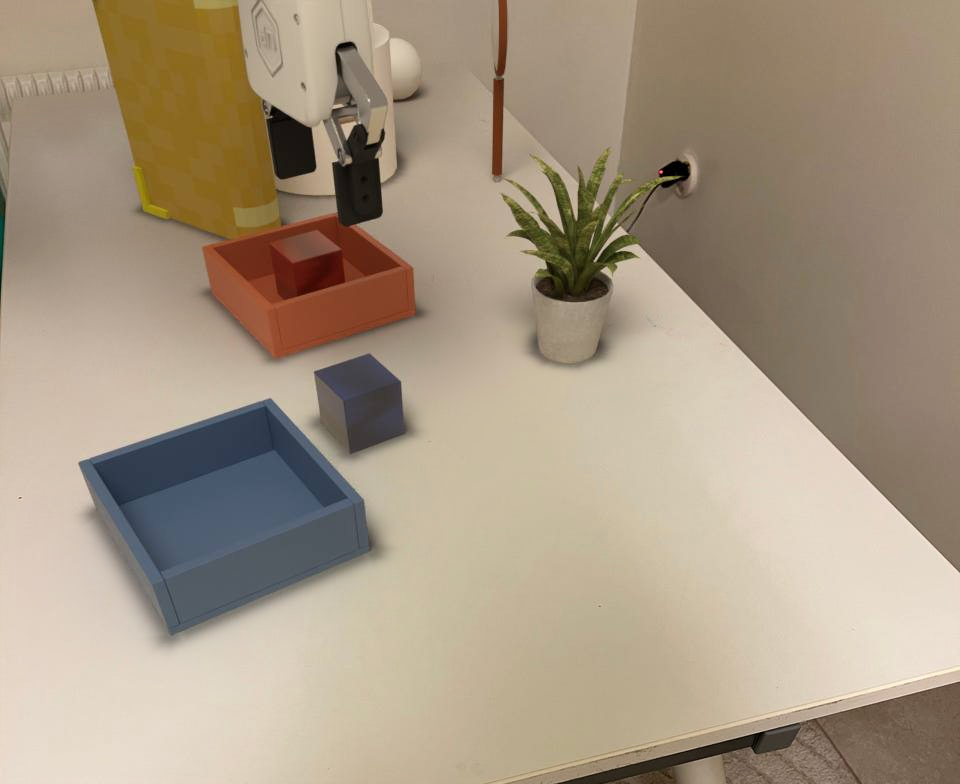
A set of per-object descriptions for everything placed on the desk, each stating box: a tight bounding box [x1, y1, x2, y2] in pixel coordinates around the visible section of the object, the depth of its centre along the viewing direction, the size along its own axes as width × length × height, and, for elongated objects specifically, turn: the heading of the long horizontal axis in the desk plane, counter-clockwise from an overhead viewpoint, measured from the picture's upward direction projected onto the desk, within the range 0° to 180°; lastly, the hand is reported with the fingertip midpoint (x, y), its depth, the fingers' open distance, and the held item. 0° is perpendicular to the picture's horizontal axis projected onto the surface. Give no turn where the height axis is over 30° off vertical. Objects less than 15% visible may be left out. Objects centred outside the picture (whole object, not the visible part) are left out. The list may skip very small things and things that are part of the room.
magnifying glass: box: [490, 0, 509, 183], centre depth 100 cm, size 9×2×20 cm, turn 3°
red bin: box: [201, 211, 417, 360], centre depth 85 cm, size 15×15×5 cm
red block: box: [269, 230, 345, 300], centre depth 85 cm, size 5×5×5 cm
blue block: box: [313, 352, 406, 455], centre depth 71 cm, size 5×5×5 cm
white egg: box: [389, 37, 423, 101], centre depth 125 cm, size 10×7×7 cm
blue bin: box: [77, 397, 371, 636], centre depth 63 cm, size 15×15×5 cm
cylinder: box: [264, 0, 398, 196], centre depth 100 cm, size 17×17×28 cm
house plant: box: [499, 147, 686, 364], centre depth 76 cm, size 14×14×16 cm
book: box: [91, 0, 282, 240], centre depth 91 cm, size 17×7×25 cm, turn 55°
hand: (327, 196), depth 64 cm, fingers open, 9 cm apart
